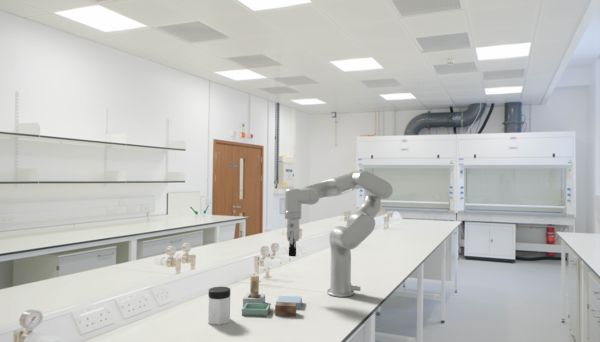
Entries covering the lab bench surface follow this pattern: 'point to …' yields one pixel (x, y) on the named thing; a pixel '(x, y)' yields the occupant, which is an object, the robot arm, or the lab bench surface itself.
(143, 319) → the lab bench surface
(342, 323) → the lab bench surface
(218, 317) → the jar
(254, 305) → the tray
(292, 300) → the board
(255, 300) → the socket block
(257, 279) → the dowel
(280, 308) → the block
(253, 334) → the lab bench surface
